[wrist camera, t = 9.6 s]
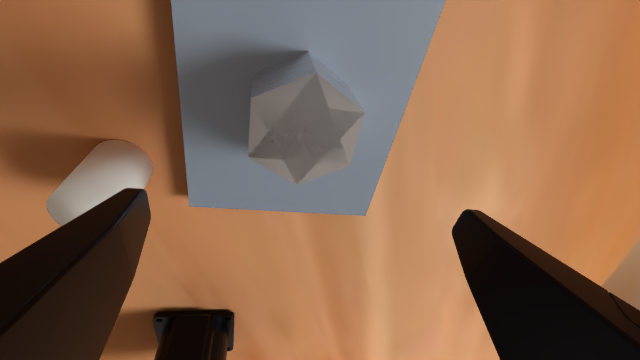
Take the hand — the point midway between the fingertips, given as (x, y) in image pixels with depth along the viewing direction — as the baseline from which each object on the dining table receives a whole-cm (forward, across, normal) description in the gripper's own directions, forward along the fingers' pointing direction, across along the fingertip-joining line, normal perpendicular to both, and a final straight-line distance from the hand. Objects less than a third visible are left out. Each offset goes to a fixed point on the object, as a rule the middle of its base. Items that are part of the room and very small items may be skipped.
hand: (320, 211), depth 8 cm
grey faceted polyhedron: (+8, 0, 0) cm, 8 cm away
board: (+9, 0, 0) cm, 9 cm away
